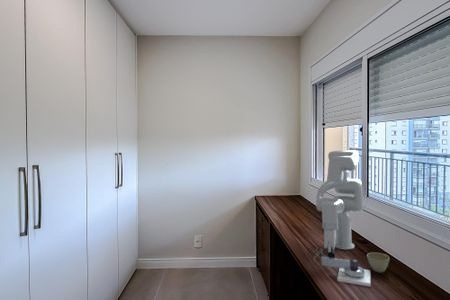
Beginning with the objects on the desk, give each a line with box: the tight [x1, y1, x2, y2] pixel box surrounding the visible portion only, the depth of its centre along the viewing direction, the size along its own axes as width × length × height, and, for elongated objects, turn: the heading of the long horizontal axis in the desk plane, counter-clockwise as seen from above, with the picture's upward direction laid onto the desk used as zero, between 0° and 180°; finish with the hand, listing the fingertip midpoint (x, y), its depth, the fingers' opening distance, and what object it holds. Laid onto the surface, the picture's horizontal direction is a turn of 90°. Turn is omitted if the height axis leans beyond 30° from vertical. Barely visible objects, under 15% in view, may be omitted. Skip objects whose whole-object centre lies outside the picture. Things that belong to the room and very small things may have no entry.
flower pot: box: [366, 252, 390, 273], centre depth 144 cm, size 10×10×7 cm
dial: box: [320, 255, 365, 278], centre depth 141 cm, size 20×9×6 cm, turn 63°
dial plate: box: [336, 268, 371, 287], centre depth 138 cm, size 14×14×2 cm
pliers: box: [312, 247, 328, 263], centre depth 165 cm, size 10×1×20 cm
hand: (331, 260), depth 148 cm, fingers closed
